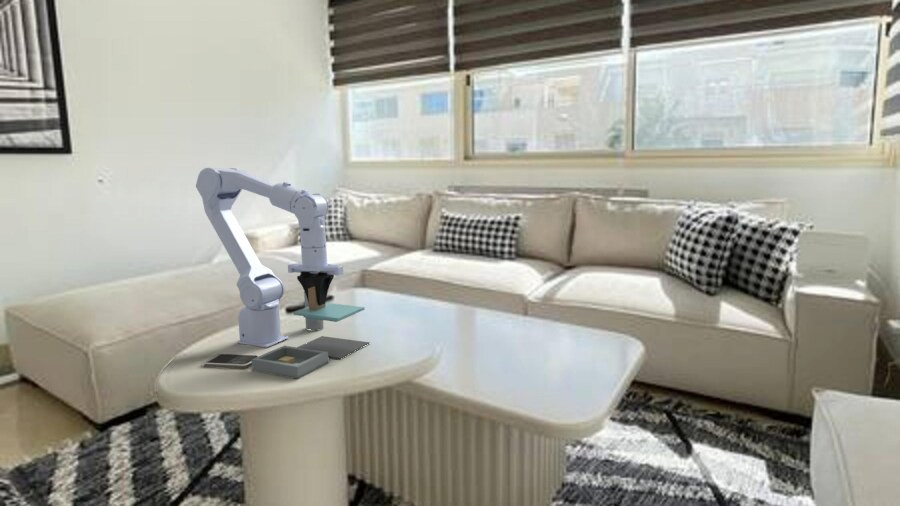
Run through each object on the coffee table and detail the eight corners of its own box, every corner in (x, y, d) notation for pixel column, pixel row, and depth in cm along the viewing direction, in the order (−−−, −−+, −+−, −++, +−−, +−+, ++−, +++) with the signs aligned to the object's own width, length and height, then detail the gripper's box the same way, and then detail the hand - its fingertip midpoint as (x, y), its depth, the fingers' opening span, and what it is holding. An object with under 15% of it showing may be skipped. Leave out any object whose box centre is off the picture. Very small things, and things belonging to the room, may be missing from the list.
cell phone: (246, 371, 116) (246, 365, 115) (199, 368, 118) (198, 362, 117) (261, 361, 122) (261, 355, 122) (216, 359, 124) (215, 353, 123)
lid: (293, 318, 126) (292, 290, 125) (322, 307, 135) (321, 282, 134) (338, 324, 121) (337, 296, 120) (364, 313, 130) (363, 286, 129)
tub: (252, 370, 115) (251, 359, 114) (284, 356, 124) (284, 345, 123) (298, 378, 110) (297, 366, 109) (328, 363, 119) (328, 352, 118)
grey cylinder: (319, 331, 143) (317, 292, 142) (303, 330, 144) (301, 292, 143) (326, 326, 148) (324, 289, 146) (310, 326, 148) (308, 288, 147)
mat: (290, 351, 127) (290, 350, 127) (322, 337, 138) (322, 336, 137) (340, 359, 121) (340, 357, 121) (369, 344, 132) (369, 342, 132)
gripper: (277, 247, 126) (281, 305, 128) (328, 249, 120) (332, 310, 122) (297, 244, 133) (301, 299, 135) (347, 245, 127) (350, 303, 129)
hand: (317, 303), depth 129 cm, fingers closed on lid
